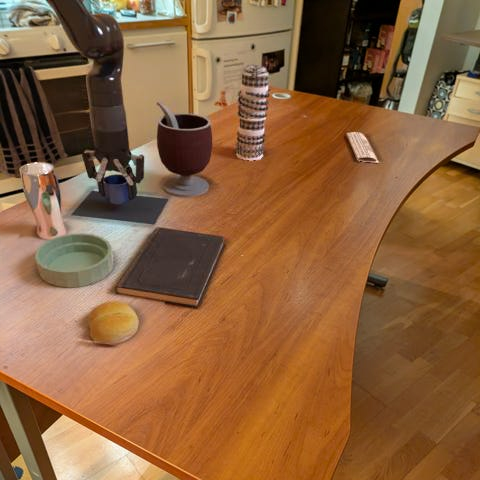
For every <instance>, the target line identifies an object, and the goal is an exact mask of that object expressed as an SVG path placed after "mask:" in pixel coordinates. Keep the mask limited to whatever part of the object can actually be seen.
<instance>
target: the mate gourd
mask: <svg viewBox="0 0 480 480" xmlns="http://www.w3.org/2000/svg"><path fill="white" fill-rule="evenodd" d="M156 105H157V106H159V108H160V109H161V111H162V112H163V115H162V116H161V117H159V118H158V120H157V122H158V123H157V130H156V144H157V145H156V147H157V151H158V156H159V160H160V162H161V164H162V165H163V166H164V167H165V168H166V170H167V171H168V172H170V173H172V174H175V175H177V176H172V177H168V178H167V179H165V180H164V181H163V183H162V189H163V191H164V192H165V193H166V194H169V195H170V196H174V197H178V198H194V197H199V196H202V195H205V194H206V193H207V192H208V191H209V188H210V185H209V182H207V180H205V179H204V178H201V177H199V176H194V175H197V174H200V173H202V172H203V171H205V169H206V167H207V166H208V165H209V164H210V161H211V157H212V152H213V133H212V126H211V120H210V119H209V118H207V117H206V116H203V115H200V114H195V113H184V112H183V113H182V112H181V113H179V112H178V113H173V111H172V110H171V109H169V108H168V107H167V106H166V105H165V104H163V103H161V102H160V101H157V102H156Z"/></svg>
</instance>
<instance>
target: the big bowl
mask: <svg viewBox="0 0 480 480" xmlns="http://www.w3.org/2000/svg"><path fill="white" fill-rule="evenodd" d="M112 247H113V246H112V244H110V242H109V241H108V240H107V239H105V238H104V237H102V236H99V235H96V234H93V233H87V232H86V233H85V232H79V233H77V232H76V233H66V234H65V235H62V236H58V237H55V238H53V239H50V240H49V239H47V241H45V242H43V243H42V244H40V246H39V247H37V249H36V251H35V254H34V260H35V263H36V267H37V271H38V274H39V276H40V278H41V279H42V281H44V282H45V283H47V284H49V285H52V286H55V287H60V288H68V289H69V288H81V287H84V286H89V285H93V284H96V283H97V282H100V281H102V280H104V278H106V277H107V276H108V275H110V274H111V272H112V271H113V269H114V255H113V248H112Z"/></svg>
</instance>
